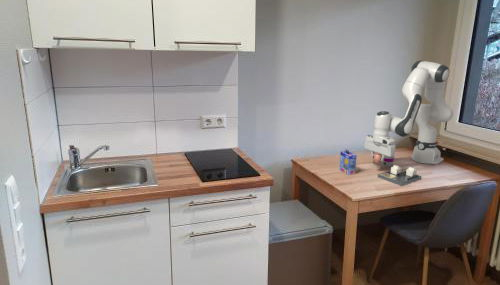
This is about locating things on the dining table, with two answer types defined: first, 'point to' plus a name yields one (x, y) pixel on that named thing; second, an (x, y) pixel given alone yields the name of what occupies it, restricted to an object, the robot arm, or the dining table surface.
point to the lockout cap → (377, 158)
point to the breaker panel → (399, 177)
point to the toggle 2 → (411, 171)
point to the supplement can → (388, 160)
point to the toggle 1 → (395, 170)
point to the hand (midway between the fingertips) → (377, 159)
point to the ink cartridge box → (347, 162)
